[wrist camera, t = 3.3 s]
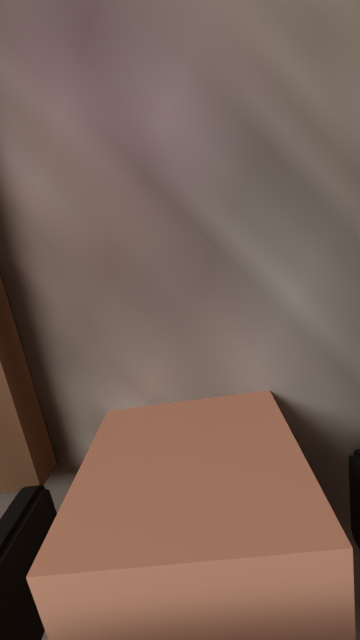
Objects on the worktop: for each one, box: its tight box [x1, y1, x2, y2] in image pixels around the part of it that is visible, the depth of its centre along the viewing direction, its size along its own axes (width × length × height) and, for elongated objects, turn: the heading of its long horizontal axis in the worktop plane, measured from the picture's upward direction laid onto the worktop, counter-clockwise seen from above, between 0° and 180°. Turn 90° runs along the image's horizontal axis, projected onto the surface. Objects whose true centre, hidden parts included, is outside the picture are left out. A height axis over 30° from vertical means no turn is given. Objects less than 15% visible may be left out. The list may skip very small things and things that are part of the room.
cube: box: [26, 391, 356, 640], centre depth 8 cm, size 6×6×6 cm
